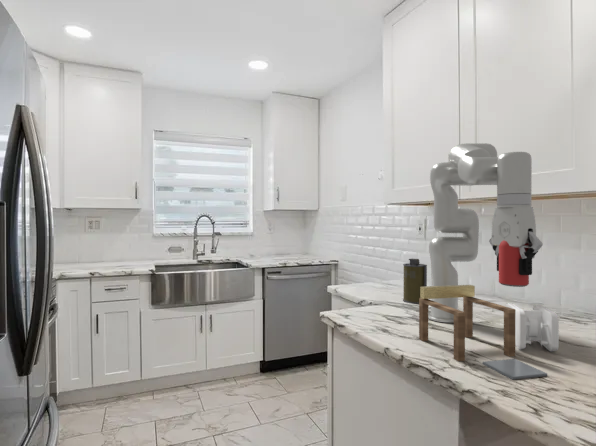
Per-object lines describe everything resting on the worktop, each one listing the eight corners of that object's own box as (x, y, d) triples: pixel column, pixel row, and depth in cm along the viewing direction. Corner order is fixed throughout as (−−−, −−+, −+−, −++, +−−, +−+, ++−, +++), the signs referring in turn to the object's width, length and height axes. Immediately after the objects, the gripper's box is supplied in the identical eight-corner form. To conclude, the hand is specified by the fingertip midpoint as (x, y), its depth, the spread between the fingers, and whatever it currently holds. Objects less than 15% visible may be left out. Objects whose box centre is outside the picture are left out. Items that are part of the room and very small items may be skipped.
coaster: (482, 363, 98) (482, 361, 98) (514, 360, 100) (514, 358, 100) (512, 379, 88) (512, 377, 88) (547, 375, 90) (547, 373, 90)
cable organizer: (504, 336, 122) (504, 301, 122) (540, 339, 119) (540, 302, 119) (519, 352, 107) (519, 311, 107) (561, 355, 105) (561, 314, 105)
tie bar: (420, 297, 118) (420, 286, 118) (470, 295, 122) (470, 284, 122) (424, 299, 116) (424, 287, 116) (474, 296, 120) (474, 285, 120)
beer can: (505, 286, 91) (505, 237, 91) (494, 282, 98) (494, 236, 98) (534, 287, 90) (534, 238, 90) (521, 283, 97) (521, 237, 97)
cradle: (419, 339, 119) (419, 298, 119) (468, 335, 123) (468, 295, 123) (458, 361, 100) (458, 312, 100) (515, 356, 104) (515, 309, 104)
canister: (398, 300, 177) (398, 258, 177) (410, 298, 184) (410, 257, 184) (419, 304, 169) (419, 260, 169) (431, 301, 176) (431, 259, 176)
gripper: (477, 203, 102) (477, 269, 102) (529, 199, 85) (529, 278, 85) (500, 203, 103) (500, 268, 103) (557, 200, 86) (556, 277, 86)
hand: (513, 272), depth 94 cm, fingers closed on beer can, 6 cm apart
